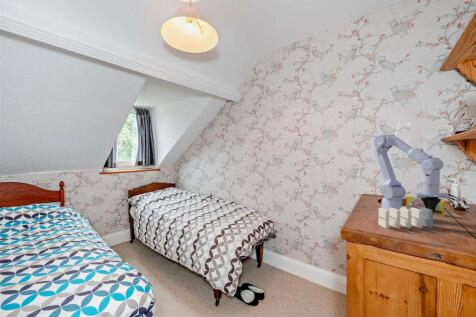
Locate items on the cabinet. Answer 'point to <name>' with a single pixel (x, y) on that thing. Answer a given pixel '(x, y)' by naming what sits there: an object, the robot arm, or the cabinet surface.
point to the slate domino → (427, 217)
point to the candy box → (418, 203)
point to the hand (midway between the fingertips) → (430, 213)
